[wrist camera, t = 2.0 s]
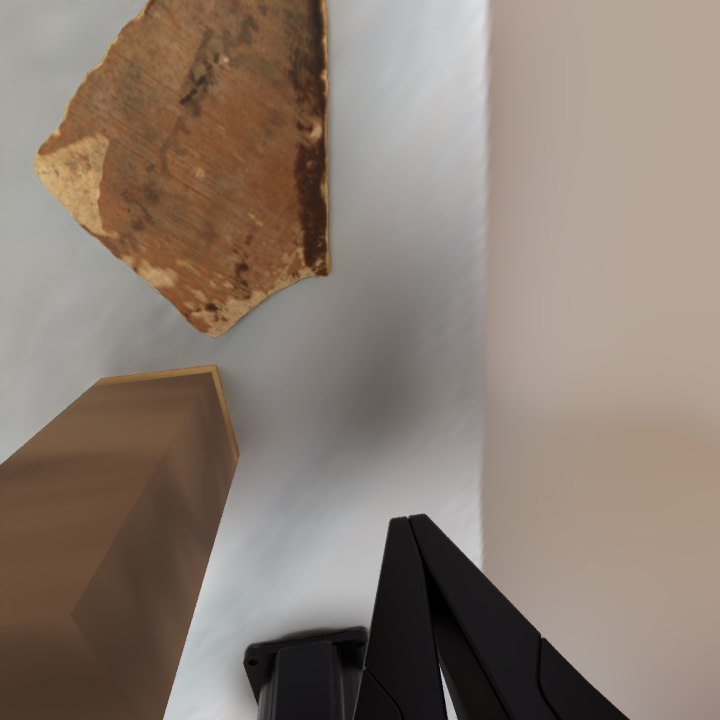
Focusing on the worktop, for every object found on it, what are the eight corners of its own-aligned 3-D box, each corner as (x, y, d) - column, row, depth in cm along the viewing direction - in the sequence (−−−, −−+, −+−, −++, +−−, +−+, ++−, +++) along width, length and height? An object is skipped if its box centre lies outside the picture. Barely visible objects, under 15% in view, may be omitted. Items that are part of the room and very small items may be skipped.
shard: (317, -150, 9) (318, -223, 8) (482, 128, 12) (508, 118, 11) (45, 166, 11) (0, 162, 10) (241, 345, 14) (232, 364, 12)
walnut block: (239, 455, 15) (153, 752, 7) (136, 469, 15) (-74, 794, 7) (215, 364, 14) (70, 614, 6) (100, 378, 14) (-229, 662, 5)
